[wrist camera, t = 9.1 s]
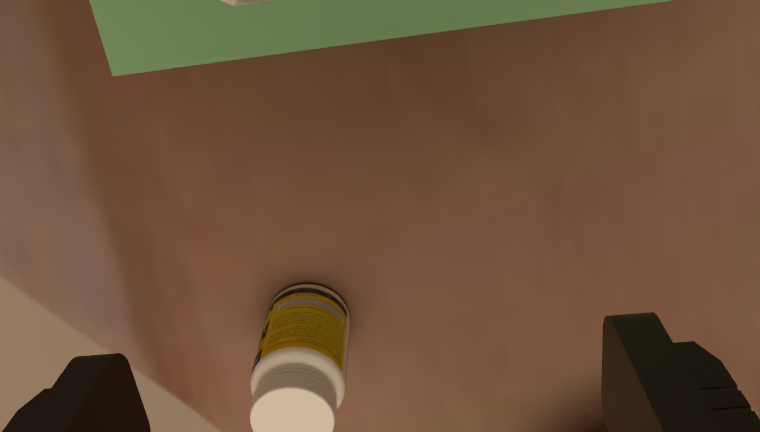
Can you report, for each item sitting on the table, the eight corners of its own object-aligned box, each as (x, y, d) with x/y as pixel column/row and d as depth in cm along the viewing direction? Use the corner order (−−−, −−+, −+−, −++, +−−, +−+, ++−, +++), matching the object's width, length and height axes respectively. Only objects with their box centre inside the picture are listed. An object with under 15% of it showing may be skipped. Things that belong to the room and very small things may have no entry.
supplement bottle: (259, 286, 39) (230, 386, 31) (343, 276, 38) (333, 374, 31) (277, 355, 41) (253, 463, 33) (356, 346, 41) (350, 453, 33)
